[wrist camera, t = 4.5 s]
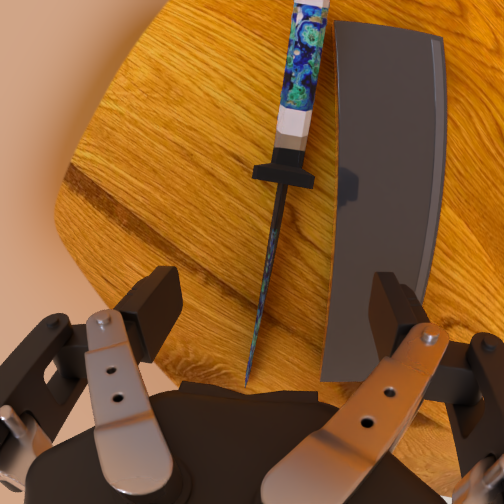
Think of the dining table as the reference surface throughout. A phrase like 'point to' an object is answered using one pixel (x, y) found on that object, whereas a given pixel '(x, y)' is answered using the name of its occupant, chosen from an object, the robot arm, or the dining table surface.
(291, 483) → the robot arm
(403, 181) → the slate board
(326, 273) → the dining table surface
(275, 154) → the knife
